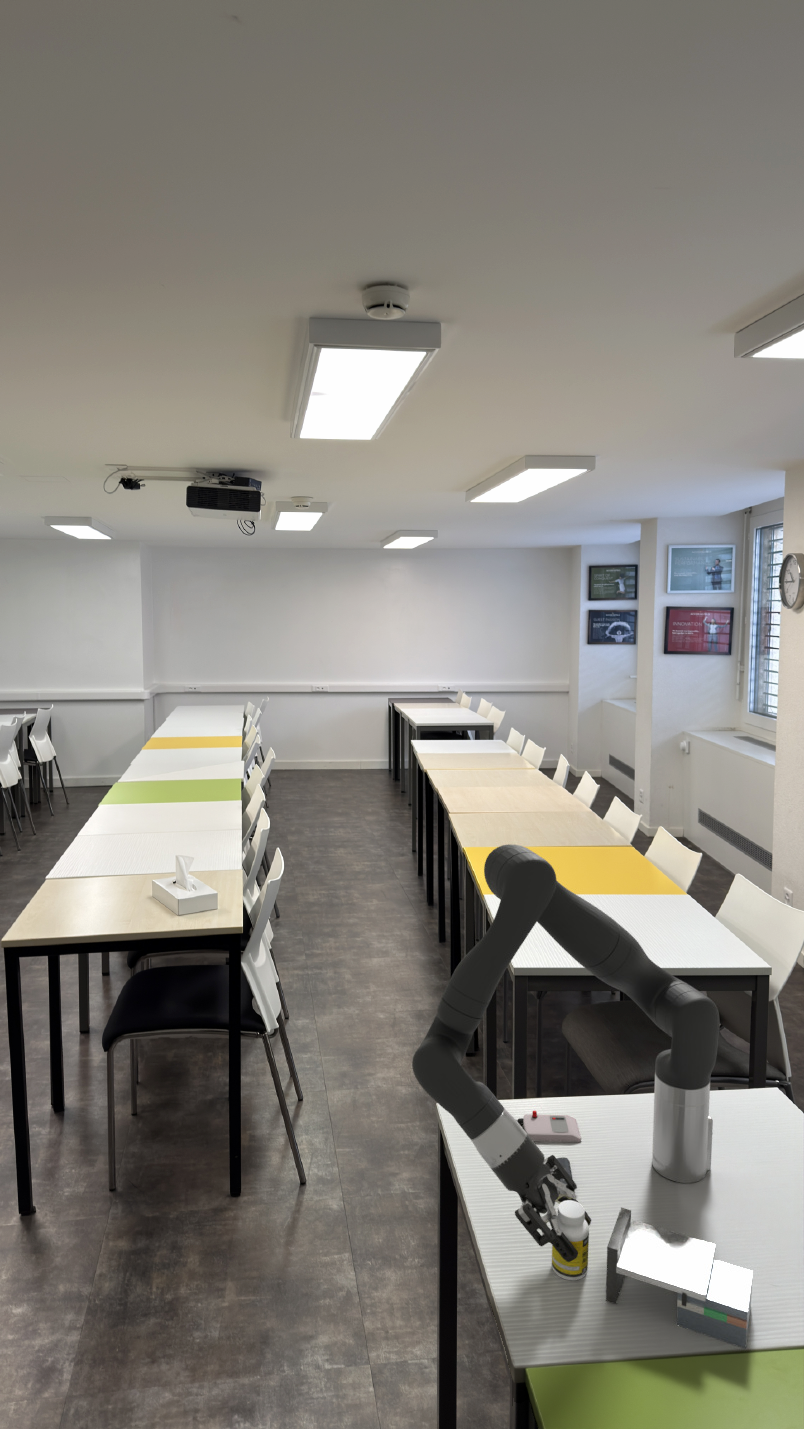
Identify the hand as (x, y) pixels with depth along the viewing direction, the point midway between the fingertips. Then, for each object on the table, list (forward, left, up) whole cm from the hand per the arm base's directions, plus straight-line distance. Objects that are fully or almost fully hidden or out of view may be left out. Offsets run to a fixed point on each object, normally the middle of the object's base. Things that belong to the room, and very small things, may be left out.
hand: (580, 1241), depth 133 cm
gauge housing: (-12, +15, -5) cm, 20 cm away
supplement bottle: (+1, -1, -5) cm, 5 cm away
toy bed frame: (-7, +9, -4) cm, 12 cm away
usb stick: (-11, -19, -6) cm, 22 cm away
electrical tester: (-16, -32, -6) cm, 36 cm away
